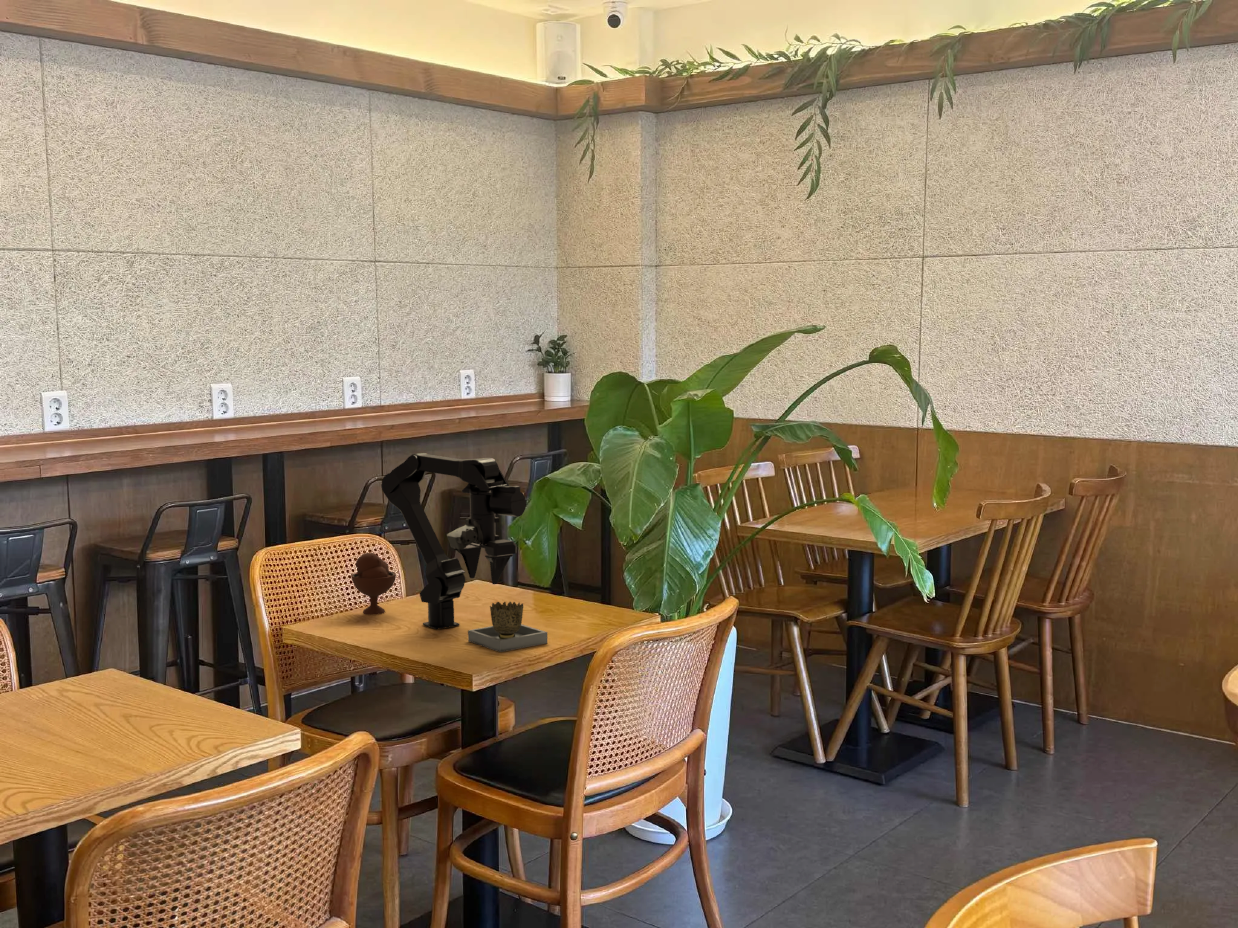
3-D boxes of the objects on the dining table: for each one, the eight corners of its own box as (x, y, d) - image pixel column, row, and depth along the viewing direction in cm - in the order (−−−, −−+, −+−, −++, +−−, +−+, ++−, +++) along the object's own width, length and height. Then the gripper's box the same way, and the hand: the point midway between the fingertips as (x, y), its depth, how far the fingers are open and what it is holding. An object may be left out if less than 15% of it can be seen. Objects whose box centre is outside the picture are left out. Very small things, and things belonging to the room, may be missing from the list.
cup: (517, 644, 269) (517, 608, 268) (485, 642, 271) (485, 607, 270) (527, 636, 276) (527, 601, 275) (496, 635, 278) (496, 600, 277)
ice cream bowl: (392, 617, 298) (391, 556, 297) (346, 616, 298) (345, 555, 297) (400, 607, 309) (399, 548, 307) (356, 607, 309) (355, 548, 307)
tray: (468, 641, 274) (468, 630, 274) (514, 632, 282) (514, 622, 282) (500, 652, 265) (500, 640, 264) (547, 643, 273) (547, 631, 272)
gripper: (430, 512, 282) (431, 579, 283) (475, 521, 267) (476, 591, 269) (471, 508, 289) (472, 573, 290) (517, 516, 275) (518, 585, 276)
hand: (483, 581), depth 281 cm, fingers open, 9 cm apart
